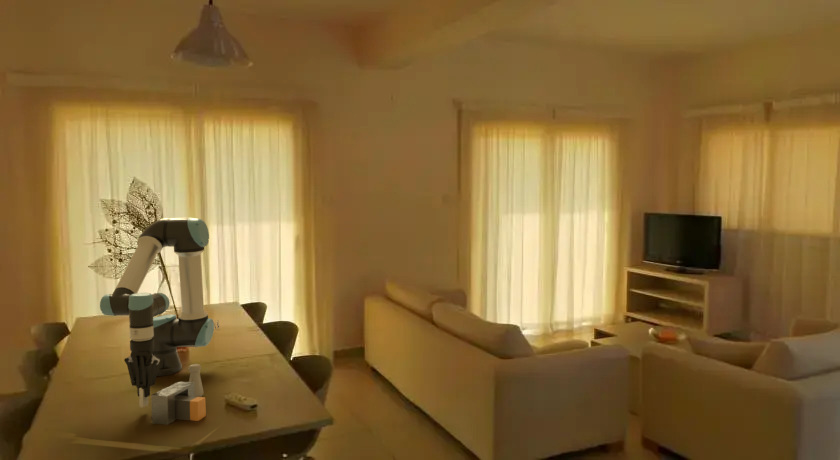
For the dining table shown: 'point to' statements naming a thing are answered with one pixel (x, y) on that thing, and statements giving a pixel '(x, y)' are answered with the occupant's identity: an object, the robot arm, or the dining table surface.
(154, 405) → the block
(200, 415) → the plug
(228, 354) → the dining table surface
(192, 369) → the salt shaker
